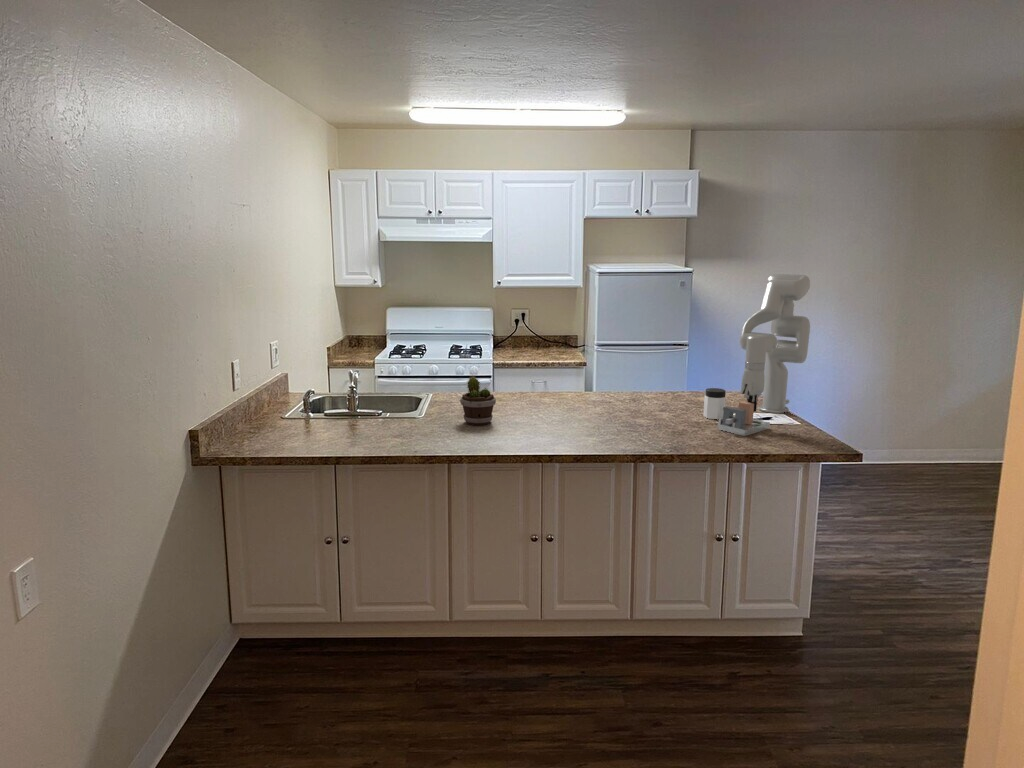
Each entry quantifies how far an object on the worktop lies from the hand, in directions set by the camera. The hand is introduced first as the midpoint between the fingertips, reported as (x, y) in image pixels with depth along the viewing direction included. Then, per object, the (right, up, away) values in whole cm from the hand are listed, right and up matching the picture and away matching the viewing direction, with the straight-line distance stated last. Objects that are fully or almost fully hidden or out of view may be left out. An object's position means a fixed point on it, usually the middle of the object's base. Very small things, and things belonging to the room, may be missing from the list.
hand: (751, 411), depth 291 cm
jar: (-10, -4, +17) cm, 20 cm away
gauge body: (-4, -7, -1) cm, 8 cm away
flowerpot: (-111, -5, +7) cm, 111 cm away
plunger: (-6, -5, -6) cm, 10 cm away
